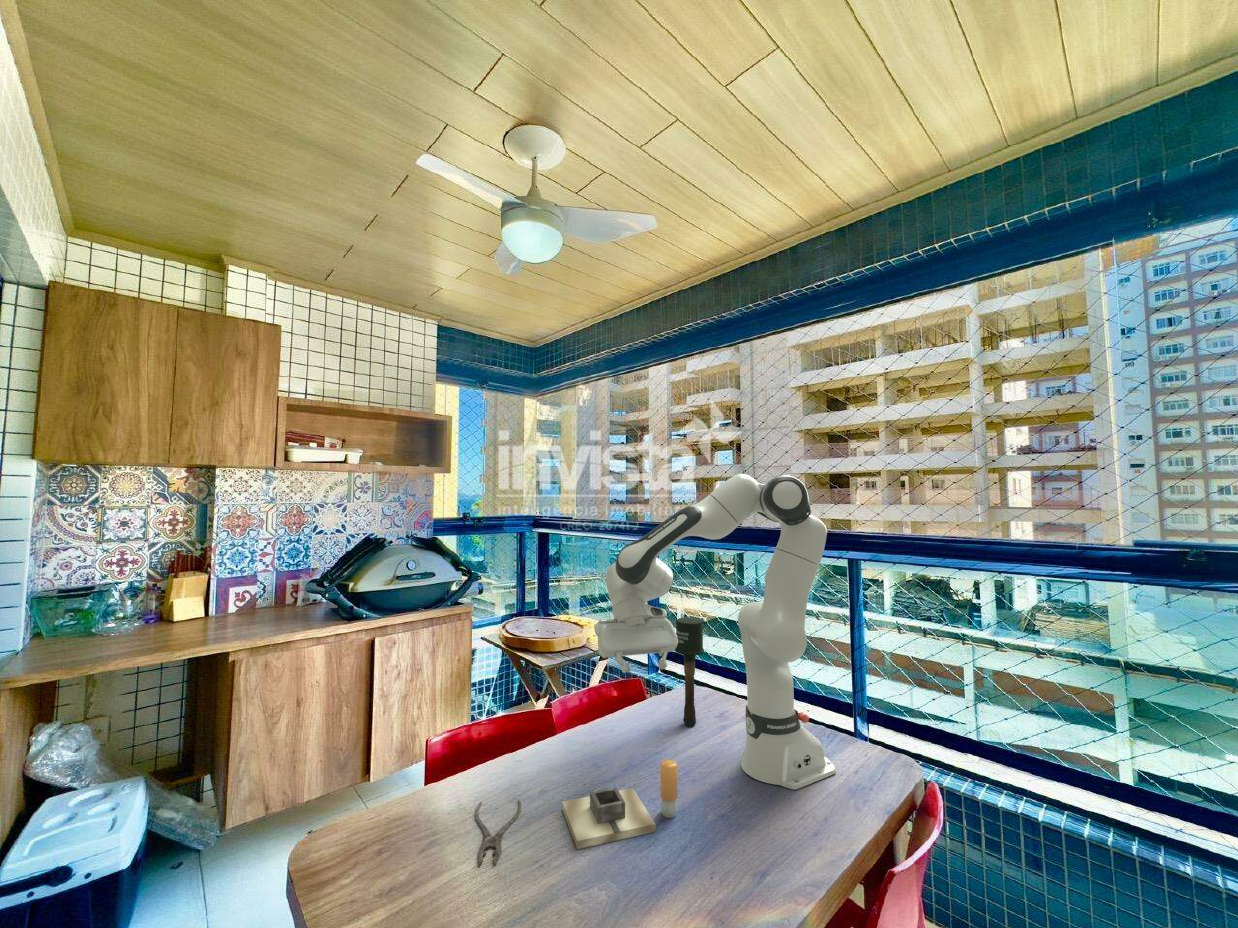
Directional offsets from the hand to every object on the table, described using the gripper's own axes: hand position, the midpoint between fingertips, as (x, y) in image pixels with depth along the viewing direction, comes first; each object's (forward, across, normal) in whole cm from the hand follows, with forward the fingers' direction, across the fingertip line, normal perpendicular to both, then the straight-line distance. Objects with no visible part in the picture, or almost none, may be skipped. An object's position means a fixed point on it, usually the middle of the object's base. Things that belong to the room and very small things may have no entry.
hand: (645, 669), depth 121 cm
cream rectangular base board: (+26, -13, +10) cm, 31 cm away
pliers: (+24, -34, +14) cm, 43 cm away
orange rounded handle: (+27, 0, +8) cm, 29 cm away
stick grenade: (+2, +24, +34) cm, 41 cm away
